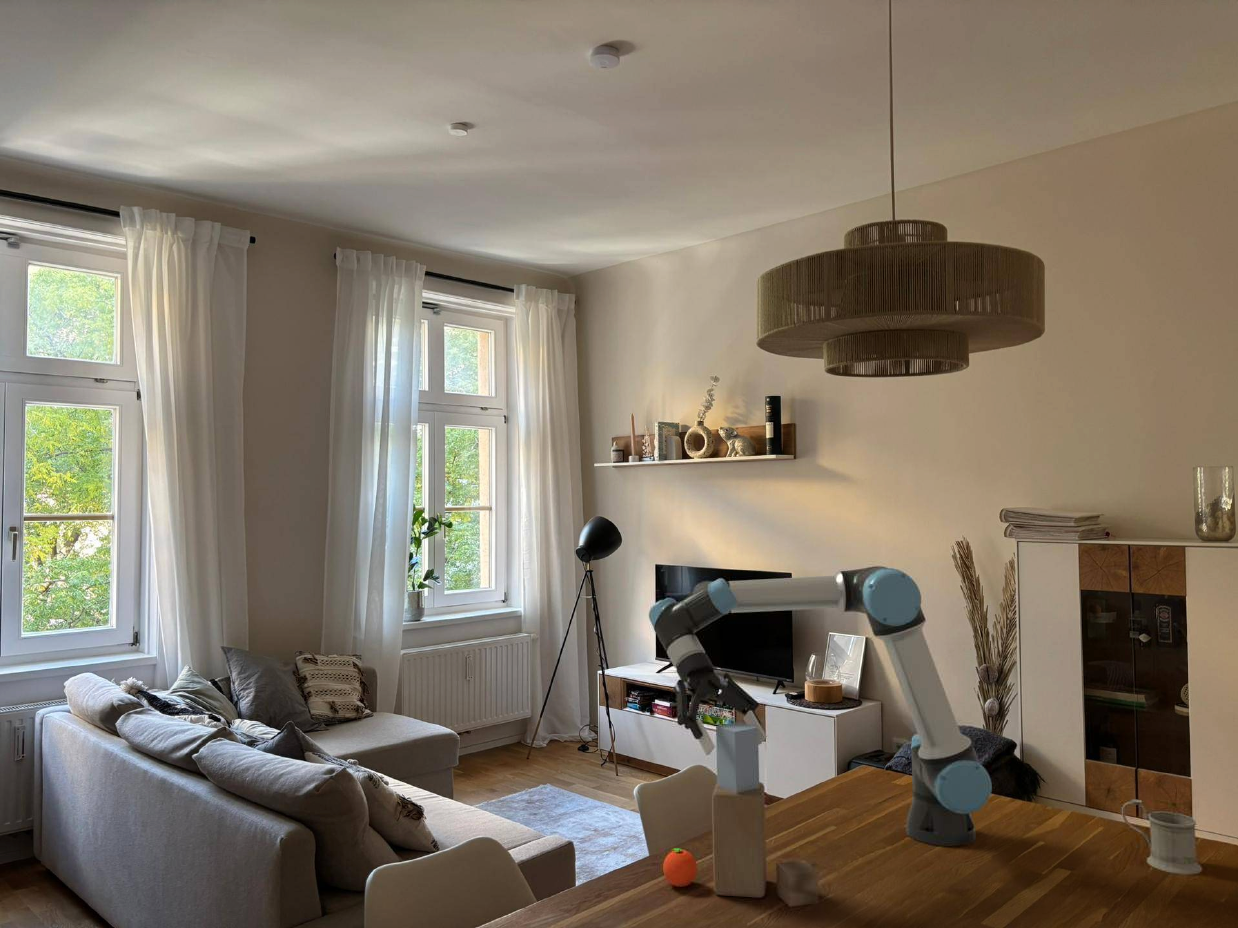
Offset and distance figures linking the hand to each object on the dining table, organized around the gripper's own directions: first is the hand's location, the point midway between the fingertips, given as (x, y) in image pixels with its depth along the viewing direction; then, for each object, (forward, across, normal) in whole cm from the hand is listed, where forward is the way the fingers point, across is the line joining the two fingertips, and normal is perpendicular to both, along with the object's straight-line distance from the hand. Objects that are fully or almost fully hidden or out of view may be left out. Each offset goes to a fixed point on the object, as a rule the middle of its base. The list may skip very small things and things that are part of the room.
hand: (737, 745), depth 183 cm
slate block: (+6, 0, -6) cm, 8 cm away
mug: (+49, -82, +8) cm, 96 cm away
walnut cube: (+27, -6, -13) cm, 31 cm away
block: (+20, 0, -20) cm, 28 cm away
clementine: (+14, +9, -26) cm, 31 cm away
